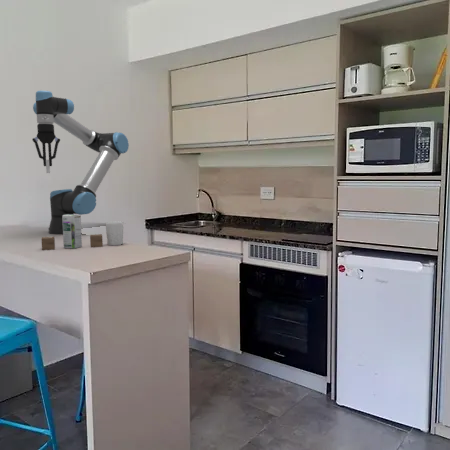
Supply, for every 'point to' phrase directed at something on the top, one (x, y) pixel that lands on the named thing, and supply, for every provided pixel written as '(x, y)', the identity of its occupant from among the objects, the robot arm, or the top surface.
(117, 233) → the white cup
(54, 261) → the top surface
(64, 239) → the syrup box
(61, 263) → the top surface
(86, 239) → the top surface
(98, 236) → the walnut block one
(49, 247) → the walnut block seven
